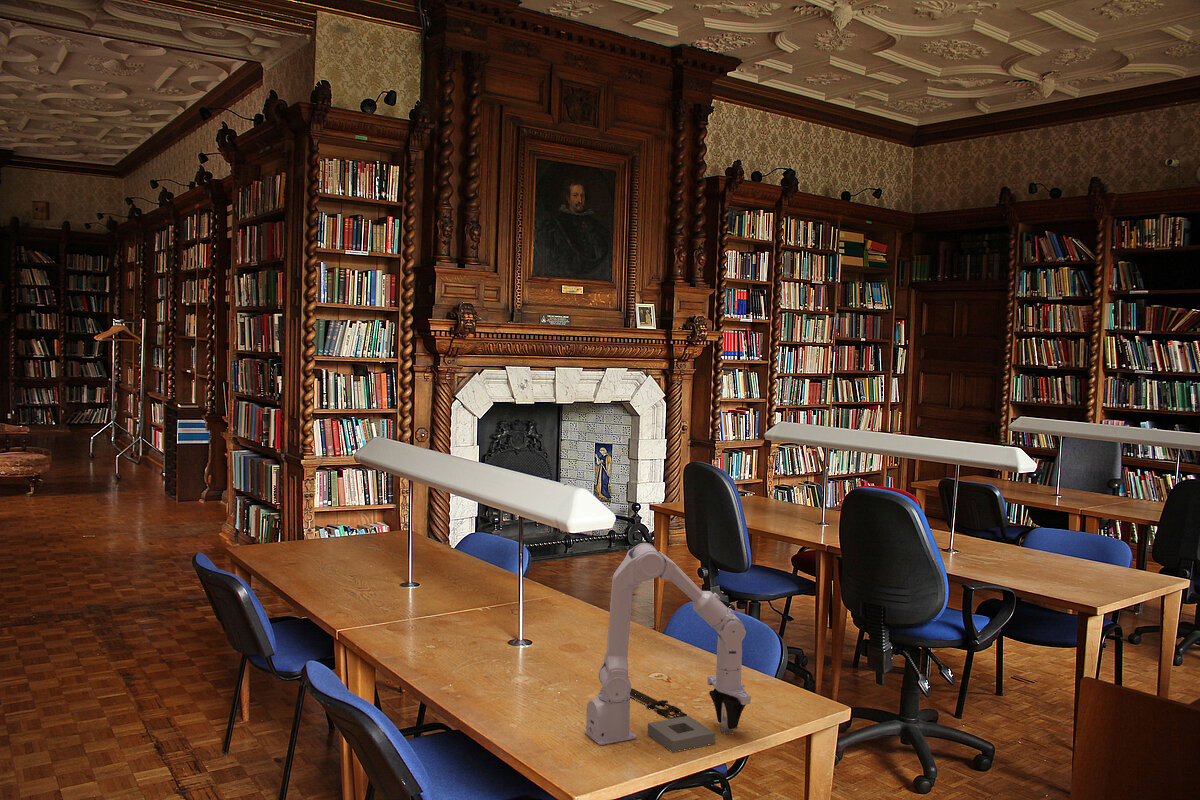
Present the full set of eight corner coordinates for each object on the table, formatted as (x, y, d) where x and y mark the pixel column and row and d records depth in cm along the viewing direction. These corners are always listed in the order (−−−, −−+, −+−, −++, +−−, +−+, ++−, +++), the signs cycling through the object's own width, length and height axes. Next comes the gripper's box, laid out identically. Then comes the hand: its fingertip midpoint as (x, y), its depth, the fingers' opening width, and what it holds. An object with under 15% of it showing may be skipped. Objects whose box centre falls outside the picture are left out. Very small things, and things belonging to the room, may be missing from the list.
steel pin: (725, 735, 211) (726, 705, 211) (718, 730, 214) (719, 700, 214) (736, 733, 213) (737, 703, 212) (729, 728, 215) (729, 698, 215)
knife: (612, 690, 240) (612, 685, 240) (633, 686, 243) (633, 681, 243) (668, 724, 218) (668, 718, 218) (690, 719, 221) (690, 713, 221)
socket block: (672, 752, 202) (672, 741, 201) (647, 733, 211) (647, 723, 211) (714, 743, 207) (715, 732, 206) (688, 726, 216) (688, 715, 216)
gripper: (762, 674, 208) (760, 733, 209) (725, 655, 221) (724, 711, 222) (736, 678, 205) (734, 738, 206) (700, 659, 218) (699, 715, 218)
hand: (727, 724), depth 213 cm, fingers open, 3 cm apart
